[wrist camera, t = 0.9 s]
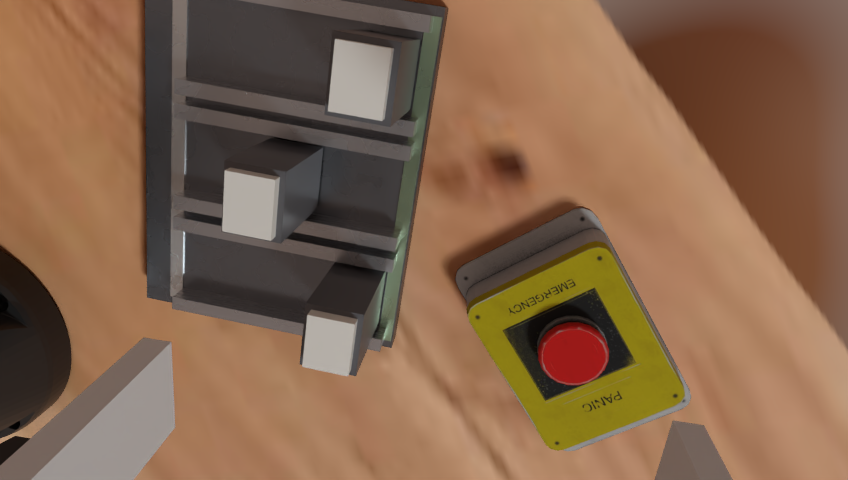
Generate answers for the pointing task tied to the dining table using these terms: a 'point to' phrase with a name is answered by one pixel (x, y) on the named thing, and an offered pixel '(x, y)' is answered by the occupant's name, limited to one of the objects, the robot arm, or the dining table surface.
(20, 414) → the robot arm
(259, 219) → the block
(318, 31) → the panel
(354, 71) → the block
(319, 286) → the breaker far
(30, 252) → the dining table surface
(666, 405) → the emergency button
